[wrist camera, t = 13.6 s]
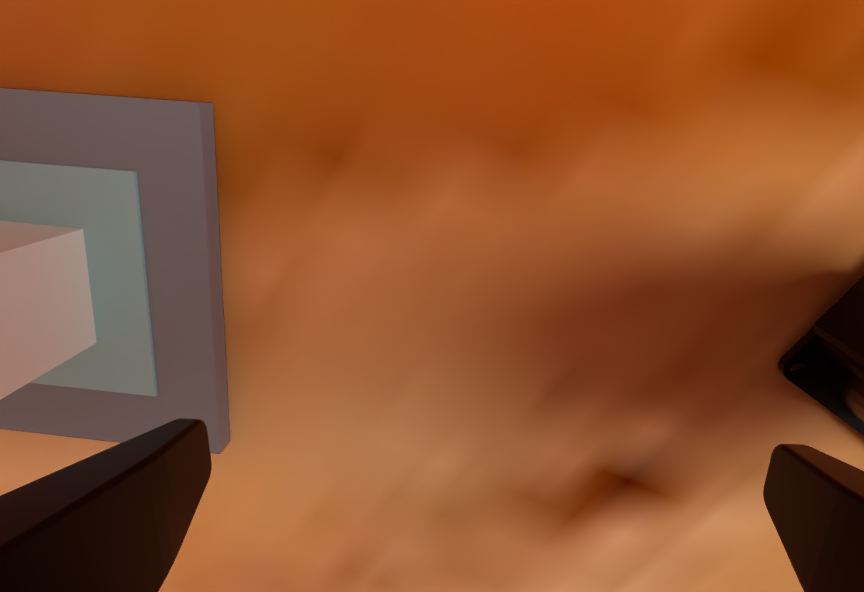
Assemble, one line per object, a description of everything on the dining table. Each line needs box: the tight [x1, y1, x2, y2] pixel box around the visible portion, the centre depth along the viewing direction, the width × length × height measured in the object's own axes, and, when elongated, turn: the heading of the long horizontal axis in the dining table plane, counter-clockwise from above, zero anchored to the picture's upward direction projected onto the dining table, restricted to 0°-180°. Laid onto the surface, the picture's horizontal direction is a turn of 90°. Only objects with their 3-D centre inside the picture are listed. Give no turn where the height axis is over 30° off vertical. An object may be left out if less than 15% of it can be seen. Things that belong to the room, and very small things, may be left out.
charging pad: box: [0, 88, 230, 454], centre depth 22 cm, size 14×14×1 cm
